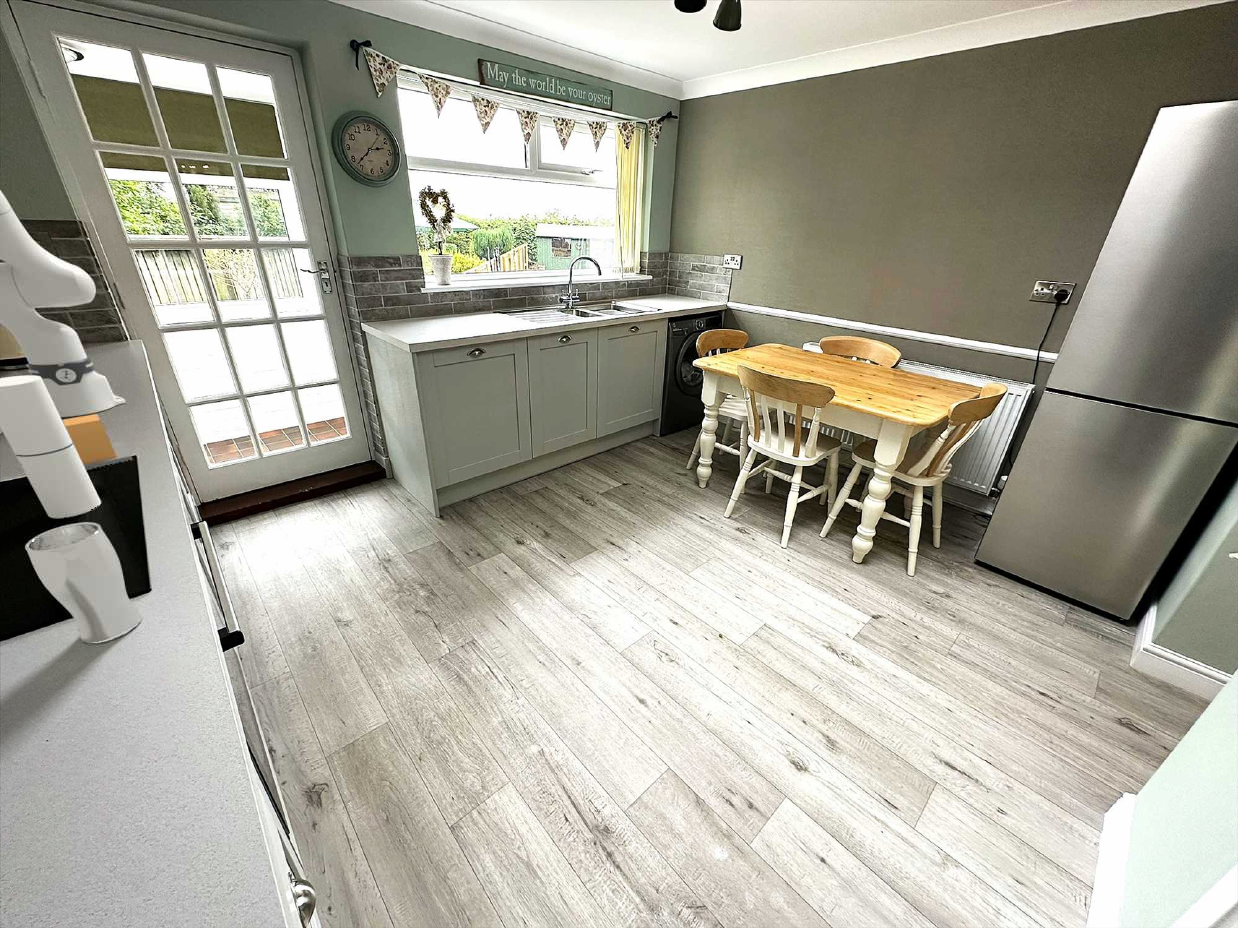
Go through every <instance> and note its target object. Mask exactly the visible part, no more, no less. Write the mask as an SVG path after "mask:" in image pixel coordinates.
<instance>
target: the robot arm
mask: <svg viewBox="0 0 1238 928" xmlns="http://www.w3.org/2000/svg"><path fill="white" fill-rule="evenodd" d="M1 190H2V189H0V260H1V261H3V262H0V324H1V325H3V326H4V327H5V328H6V329H7V330H8V331H9V332H10V333H11V335H12V336H13V338H15V340H16V342H17V343H18V345H19V347H20V348H21V350H22V352H23V353H24V356H25V358H26V359H27V362H28V363H27V367H28V371H29V372H30V373H31V376H40V377H41V378H42V380H43V382H44V384H45V386H46V388H47V391H48V393H49V395H50V397H51V399H52V401H53V403H54V405H55V407H56V409H57V411H58V413H59V415H60V418H68V417H76V416H77V417H80V416H86V415H91V414H96V413H99V412H102V411H107V410H108V409H111V408H113V407H115V406H119V405H122V404H125V403H127V402H126V399H125V398H124V397H121V396H118V395H116V394H114V392H113V390H112V388H111V386H110V384H109V381H108V379H107V378H106V376H105V375H103V374H101V373H100V374H99V373H98V372H97V371H95V367H94V363H93V361H92V360H91V357H89V356H87V353H86V351H85V349H84V346H83V344H82V342H81V339H80V337H79V335H78V333H77V332H76V331H75V330H74V329H73V328H72V327H71V326H68V324H64V323H63V322H62V323H61V322H59V321H55V320H51V319H47V318H45V317H43V316H42V315H40V314H39V313H38V312H37V310H35V309H36V308H37V309H38V308H41V309H42V308H64V307H67V308H69V307H74V306H75V307H76V306H79V305H85V304H90V303H91V302H92V301H94V299H95V296H96V293H97V290H96V288H97V287H96V284H95V282H94V280H93V279H92V277H91V276H90V275H89V274H88V273H87V272H86V271H85V270H84V269H82V268H81V267H80V266H78V265H74V264H71V263H70V262H67V261H65V260H63V259H61V258H59V257H57V256H55V255H54V254H52V253H50V252H49V251H48V250H46V249H44V247H42V246H41V245H39V244H38V243H37V241H35V240H34V239H33V238H32V236H31V235H30V234H29V233H28V231H27V230H26V228H25V227H24V225H23V224H22V223H21V221H20V219H19V218H18V216H17V215H16V213H15V211H14V210H13V207H12V206H11V204H10V202H9V201H8V199H7V198H6V196H5V195H4V193H3V192H2V191H1ZM2 433H3V431H2V429H1V427H0V435H1V434H2Z"/></svg>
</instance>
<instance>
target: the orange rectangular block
mask: <svg viewBox="0 0 1238 928" xmlns="http://www.w3.org/2000/svg"><path fill="white" fill-rule="evenodd" d="M62 422H63V424H64V426H65V428H66V430H67V432H68V434H69V436H70V438H71V440H72V443H73V445H74V447H75V449H76V451H77V452H78V454H79V456H80V458H81V460H82V462H83V464H87V463H92V462H96V461H101V460H106V459H110V458H115V457H117V456H116V454H115V452H114V450H113V447H112V445H111V444H112V442H111V441H110V439H109V436H108V435H107V432H106V429H105V426H103V423H102V421H101V419H100V417H99V415H98V413H93V414H87V415H81V416H77V417H76V416H75V417H71V418H65V419H62Z"/></svg>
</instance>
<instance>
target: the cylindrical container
mask: <svg viewBox="0 0 1238 928" xmlns="http://www.w3.org/2000/svg"><path fill="white" fill-rule="evenodd" d="M0 427H1V429H2V431H3V432H2V433H3V435H4V436H5V437H4V438H5V439H6V441H7V443H8V444H9V446H10V448H11V449H12V451H13V453H14V455H15V457H16V458H17V460H18V462H19V464H20V466H21V468H22V470H23V472H24V473H25V476H26V477H27V479H28V481H29V483H30V485H31V486H32V488H33V490H34V492H35V494H36V496H37V497H38V500H39V501H40V503H41V505H42V507H43V509H44V510H45V512H46V514H47V516H48V517H49V518H52V519H64V518H65V517H66V518H70V517H75V516H79V515H83V514H86V513H88V512H90V511H92V510H91V509H93V510H95V509H96V508H98V507H100V505H101V504H102V501H101V498H100V497H99V495H98V493H97V490H96V489H95V487H94V484H93V482H92V480H91V479H90V476H89V473H88V472H87V470H86V469H85V467H84V465H83V463H82V461H81V459H80V457H79V455H78V453H77V450H76V448H75V445H74V443H73V441H72V439H71V437H70V435H69V433H68V431H67V429H66V427H65V424H64V422H63V419H62V417H60V415H59V413H58V411H57V409H56V407H55V405H54V403H53V401H52V399H51V397H50V395H49V393H48V391H47V388H46V386H45V384H44V382H43V380H42V378H41V377H40V376H32V374H31V375H29V374H28V375H16V376H14V375H13V376H5V377H1V378H0ZM97 506H98V507H97ZM95 507H96V508H95ZM94 508H95V509H94Z"/></svg>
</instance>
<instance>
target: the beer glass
mask: <svg viewBox="0 0 1238 928" xmlns="http://www.w3.org/2000/svg"><path fill="white" fill-rule="evenodd" d="M112 544H113V543H111V541H110V539H109V538H108V536H107V535H106V533H105V532H104V530H103V529H102V527H101V525H100V524H99V523H97V522H91V521H90V522H88V521H87V522H78V523H70V524H65V525H61V526H59V527H55V528H52V529H49V530H47V531H44V532H43V533H40V534H38V535H36V536H34V537H33V538H32V539H30V540H29V541H28V542H27V543H26V544H25V545H24V546H25V547H24V548H25V550H26V551H27V552H26V553H27V555H28V557H29V559H30V561H31V564H32V566H33V568H34V570H35V572H36V575H37V576H38V578H39V580H40V581H41V582H42V584H43V585H44V587H45V588H46V590H48V591H49V593H50V594H51V595H52V596H53V597H54V598H55V599H56V600H57V601H58V602H59V603H60V604H61V605H62V606H63V607H64V608H65V609H66V610H67V611H68V612H69V614H71V616H72V617H73V619H74V620H75V622H76V625H77V629H78V632H79V637H80V640H81V641H82V643H84V642H87V643H93V642H99V641H103V640H106V639H109V638H111V637H114V636H117V635H119V634H121V633H122V632H124V631H127V630H128V629H130V628H133V627H134V626H135V625H136V624H138V623H139V621H140V620H141V618H142V619H143V615H142V612H140V611H139V610H138V608H137V607H136V606H135V605H134V604H133V603H132V602H131V600H130V598H129V596H128V593H127V590H126V585H125V579H124V575H123V574H124V573H123V570H122V565H121V562H120V559H119V556H118V554H117V552H116V549H115V548H114V546H113V545H112ZM141 621H142V620H141ZM87 643H86V644H87Z"/></svg>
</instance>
